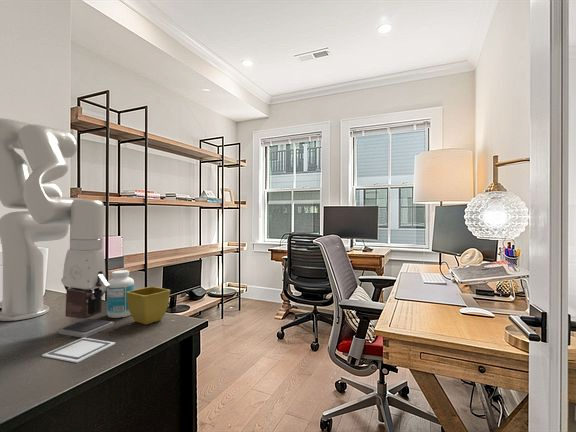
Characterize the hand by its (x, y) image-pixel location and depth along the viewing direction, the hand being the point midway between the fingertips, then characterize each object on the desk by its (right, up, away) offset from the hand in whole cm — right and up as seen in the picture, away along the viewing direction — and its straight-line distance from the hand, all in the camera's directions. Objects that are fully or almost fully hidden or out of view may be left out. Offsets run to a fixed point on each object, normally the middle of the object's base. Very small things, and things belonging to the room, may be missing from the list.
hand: (84, 310), depth 85 cm
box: (0, -1, 0) cm, 1 cm away
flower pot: (+15, -5, +7) cm, 17 cm away
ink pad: (+1, -5, 0) cm, 5 cm away
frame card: (+7, -5, -13) cm, 16 cm away
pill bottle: (+4, -5, +12) cm, 13 cm away
